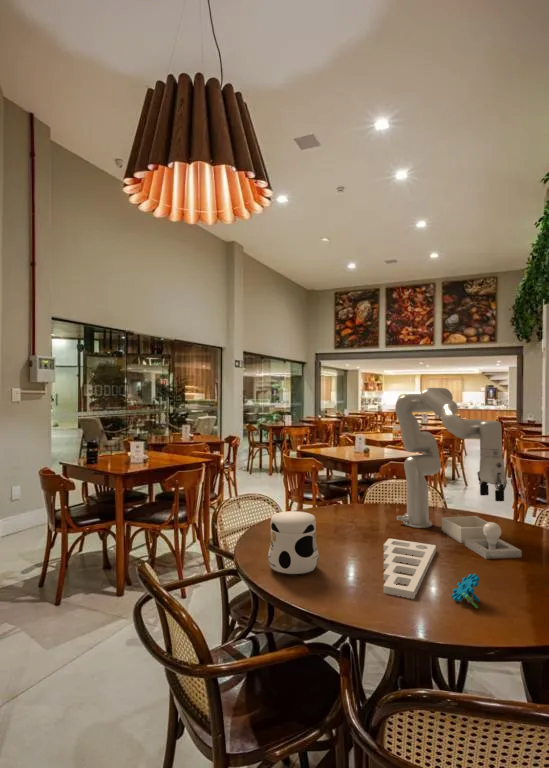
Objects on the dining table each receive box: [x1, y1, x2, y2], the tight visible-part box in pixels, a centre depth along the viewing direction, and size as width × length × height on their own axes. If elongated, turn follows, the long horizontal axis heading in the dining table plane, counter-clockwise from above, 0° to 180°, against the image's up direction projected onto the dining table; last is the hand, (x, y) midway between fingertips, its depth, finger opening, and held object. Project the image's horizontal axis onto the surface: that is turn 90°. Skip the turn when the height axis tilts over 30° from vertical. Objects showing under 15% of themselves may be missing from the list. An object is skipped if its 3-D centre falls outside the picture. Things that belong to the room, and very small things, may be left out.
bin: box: [441, 515, 489, 544], centre depth 188 cm, size 16×16×6 cm
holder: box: [383, 538, 437, 600], centre depth 155 cm, size 45×18×3 cm, turn 152°
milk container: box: [267, 510, 320, 577], centre depth 153 cm, size 17×17×18 cm
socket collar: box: [464, 537, 523, 560], centre depth 170 cm, size 14×14×2 cm
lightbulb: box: [483, 521, 502, 549], centre depth 170 cm, size 6×6×11 cm
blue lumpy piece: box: [451, 573, 481, 609], centre depth 129 cm, size 11×6×10 cm
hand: (491, 498), depth 170 cm, fingers open, 9 cm apart
